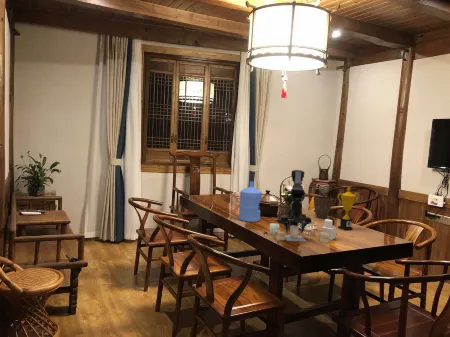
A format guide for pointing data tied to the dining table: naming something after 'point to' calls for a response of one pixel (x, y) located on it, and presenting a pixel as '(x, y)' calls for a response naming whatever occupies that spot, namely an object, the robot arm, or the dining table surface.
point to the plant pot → (322, 206)
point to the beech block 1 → (279, 235)
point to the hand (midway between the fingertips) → (294, 233)
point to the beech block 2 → (323, 237)
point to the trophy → (347, 209)
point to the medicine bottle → (329, 228)
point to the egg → (294, 232)
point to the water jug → (250, 204)
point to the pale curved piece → (273, 227)
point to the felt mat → (294, 239)
